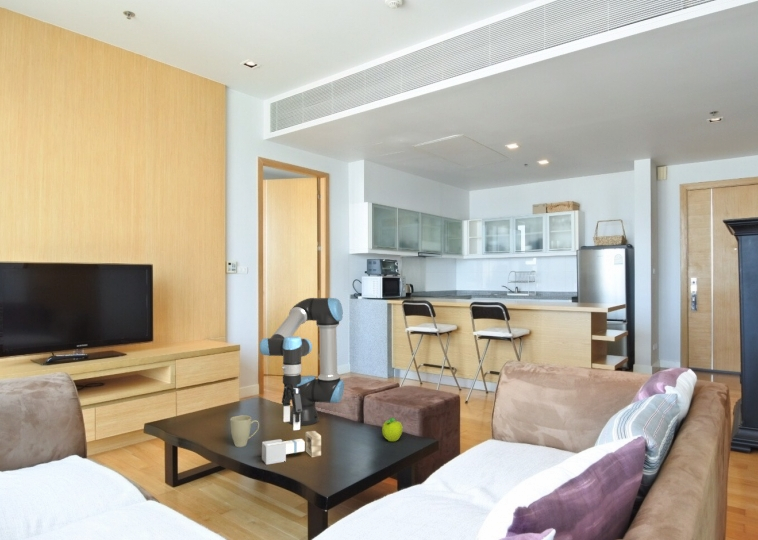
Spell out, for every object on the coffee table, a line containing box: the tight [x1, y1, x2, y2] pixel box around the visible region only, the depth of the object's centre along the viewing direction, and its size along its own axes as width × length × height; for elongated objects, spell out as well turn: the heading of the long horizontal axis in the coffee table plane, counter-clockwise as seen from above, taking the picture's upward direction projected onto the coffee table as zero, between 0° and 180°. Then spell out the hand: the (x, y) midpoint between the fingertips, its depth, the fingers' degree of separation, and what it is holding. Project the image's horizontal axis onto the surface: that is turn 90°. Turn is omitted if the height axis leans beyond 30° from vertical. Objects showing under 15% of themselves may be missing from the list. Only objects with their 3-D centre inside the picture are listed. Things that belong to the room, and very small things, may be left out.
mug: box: [229, 414, 260, 448], centre depth 218 cm, size 11×10×12 cm
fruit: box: [381, 417, 404, 442], centre depth 224 cm, size 9×9×10 cm
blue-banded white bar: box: [267, 438, 306, 455], centre depth 201 cm, size 15×4×4 cm, turn 118°
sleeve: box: [261, 438, 287, 465], centre depth 199 cm, size 8×7×7 cm
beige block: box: [305, 430, 322, 458], centre depth 207 cm, size 4×8×8 cm, turn 28°
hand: (291, 425), depth 202 cm, fingers open, 13 cm apart
